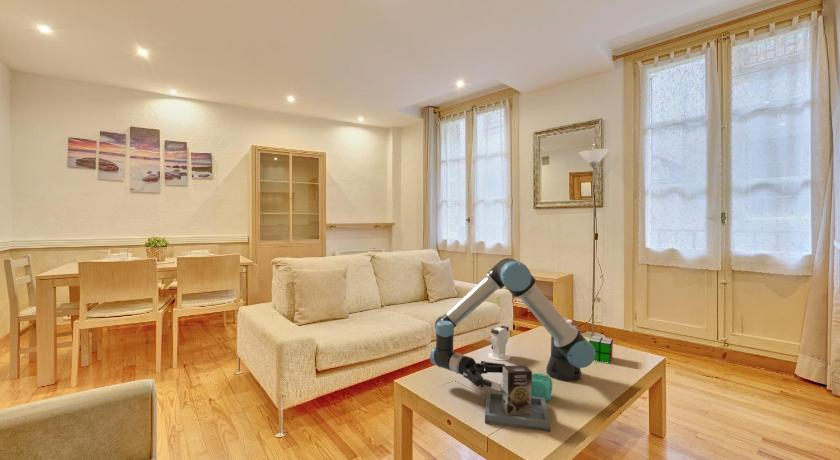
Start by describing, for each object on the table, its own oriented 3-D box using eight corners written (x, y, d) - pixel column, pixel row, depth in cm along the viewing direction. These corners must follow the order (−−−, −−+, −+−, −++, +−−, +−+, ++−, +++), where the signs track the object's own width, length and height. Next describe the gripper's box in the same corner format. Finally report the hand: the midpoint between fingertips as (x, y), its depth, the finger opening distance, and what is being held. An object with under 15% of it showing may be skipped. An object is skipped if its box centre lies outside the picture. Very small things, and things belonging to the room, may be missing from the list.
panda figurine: (496, 350, 202) (497, 323, 202) (515, 356, 195) (515, 327, 194) (483, 356, 194) (484, 327, 193) (502, 362, 186) (503, 333, 185)
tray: (544, 405, 145) (544, 397, 144) (550, 431, 127) (550, 423, 127) (486, 398, 149) (486, 391, 149) (484, 423, 132) (485, 414, 131)
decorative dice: (532, 390, 157) (532, 371, 157) (551, 395, 153) (552, 376, 153) (527, 398, 150) (527, 378, 150) (547, 403, 146) (548, 383, 146)
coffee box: (507, 416, 134) (508, 372, 134) (501, 407, 141) (502, 365, 140) (531, 415, 136) (532, 371, 135) (524, 405, 142) (525, 364, 141)
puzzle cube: (612, 357, 194) (613, 338, 194) (610, 364, 186) (611, 344, 186) (591, 353, 200) (592, 335, 199) (588, 359, 191) (589, 340, 191)
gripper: (479, 365, 163) (524, 380, 149) (443, 383, 144) (491, 403, 130) (479, 348, 162) (525, 361, 148) (444, 364, 144) (492, 381, 130)
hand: (509, 381), depth 139 cm, fingers open, 13 cm apart
